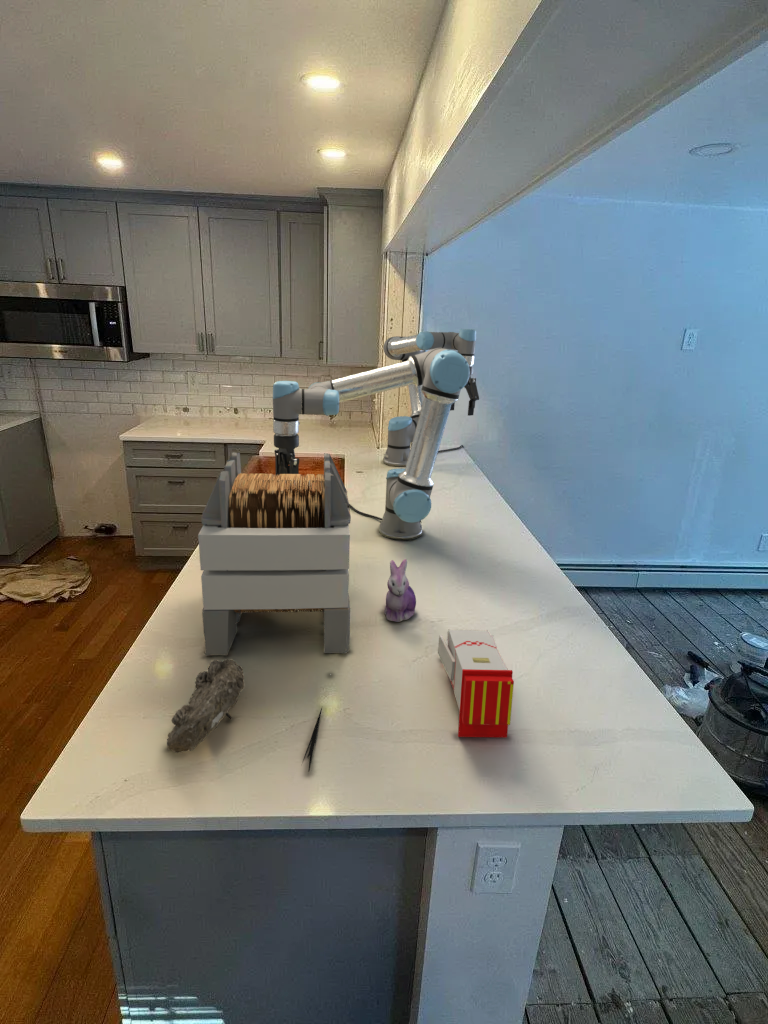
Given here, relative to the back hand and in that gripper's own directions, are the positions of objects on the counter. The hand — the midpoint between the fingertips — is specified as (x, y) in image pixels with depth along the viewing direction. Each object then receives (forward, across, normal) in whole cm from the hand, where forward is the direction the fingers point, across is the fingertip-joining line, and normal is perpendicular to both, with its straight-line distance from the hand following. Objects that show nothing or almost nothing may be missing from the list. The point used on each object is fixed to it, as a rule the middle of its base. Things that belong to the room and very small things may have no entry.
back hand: (460, 412), depth 260 cm
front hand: (+16, -42, +104) cm, 114 cm away
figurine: (+31, -94, +96) cm, 138 cm away
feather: (+31, -119, +132) cm, 180 cm away
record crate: (+31, -81, +123) cm, 151 cm away
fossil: (+31, -109, +149) cm, 187 cm away
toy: (+31, -127, +101) cm, 165 cm away
